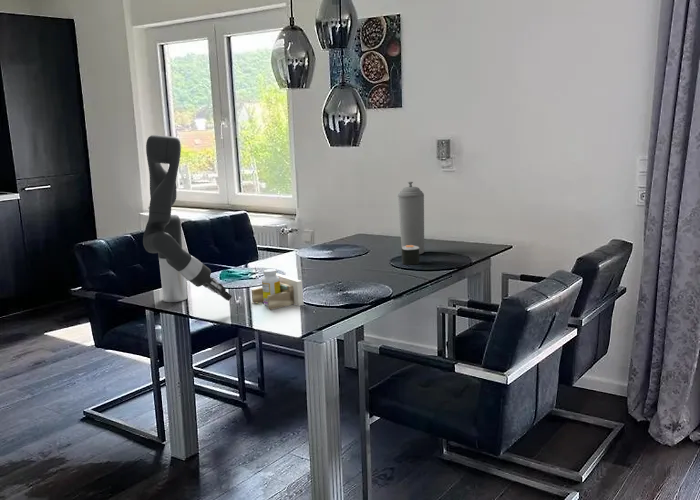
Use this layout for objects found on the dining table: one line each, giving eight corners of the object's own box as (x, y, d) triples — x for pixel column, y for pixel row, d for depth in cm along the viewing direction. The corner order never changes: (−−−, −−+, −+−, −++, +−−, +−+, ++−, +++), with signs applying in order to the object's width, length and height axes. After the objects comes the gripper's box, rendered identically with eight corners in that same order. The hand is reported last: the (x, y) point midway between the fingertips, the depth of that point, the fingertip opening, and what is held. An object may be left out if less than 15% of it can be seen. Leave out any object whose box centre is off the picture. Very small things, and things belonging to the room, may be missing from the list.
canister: (431, 252, 331) (429, 180, 324) (413, 256, 322) (411, 183, 316) (412, 249, 340) (409, 179, 333) (394, 254, 332) (391, 182, 325)
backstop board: (272, 295, 264) (270, 273, 262) (276, 294, 265) (275, 272, 263) (298, 305, 248) (297, 281, 246) (303, 304, 249) (301, 280, 247)
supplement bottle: (281, 300, 256) (278, 267, 253) (282, 305, 249) (279, 271, 247) (263, 302, 255) (260, 269, 253) (263, 307, 249) (261, 272, 246)
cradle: (252, 302, 256) (250, 284, 254) (275, 297, 261) (274, 279, 260) (270, 309, 244) (268, 290, 243) (294, 304, 250) (292, 285, 249)
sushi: (403, 265, 306) (402, 247, 304) (401, 261, 314) (400, 244, 312) (420, 264, 306) (420, 246, 304) (418, 260, 314) (417, 243, 313)
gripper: (208, 264, 228) (244, 292, 238) (192, 259, 239) (227, 286, 248) (195, 282, 226) (231, 310, 236) (180, 276, 237) (215, 303, 246)
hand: (229, 298), depth 242 cm, fingers closed
